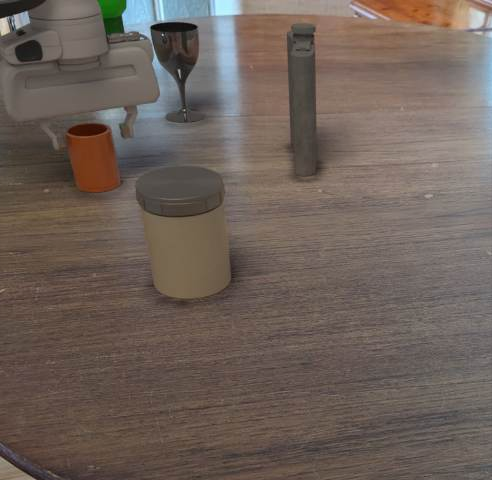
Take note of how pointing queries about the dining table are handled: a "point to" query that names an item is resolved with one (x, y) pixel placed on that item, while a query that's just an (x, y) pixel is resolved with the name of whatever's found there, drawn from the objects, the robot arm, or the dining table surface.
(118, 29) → the plastic bottle
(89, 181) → the cup
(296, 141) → the hip flask
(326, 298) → the dining table surface
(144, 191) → the jar lid
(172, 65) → the wine glass
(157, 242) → the jar
